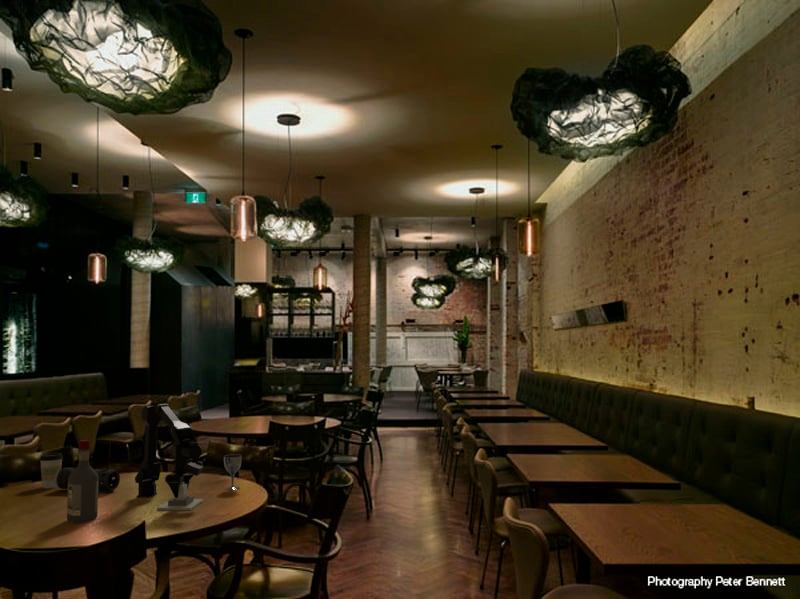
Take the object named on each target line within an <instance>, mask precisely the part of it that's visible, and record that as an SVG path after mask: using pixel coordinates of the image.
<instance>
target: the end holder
mask: <svg viewBox="0 0 800 599" xmlns="http://www.w3.org/2000/svg"><path fill="white" fill-rule="evenodd" d="M194 497H195V496H194V495H187V499H185V500H175V497H171V498H170V499H169V500H167V501H166V502H164V503H162V504H161V505H159V506H157V507H156V510H157V511H192V510H194V509H195V508H196V507H198V506H200V505H201V504H202V503H204V502H203V501H205V499H204V498H194ZM200 503H201V504H200ZM193 508H194V509H193Z"/></svg>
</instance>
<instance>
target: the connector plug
mask: <svg viewBox="0 0 800 599" xmlns="http://www.w3.org/2000/svg"><path fill="white" fill-rule="evenodd" d="M187 496H188V490H187V484H184V482H182V484H180V489H179V495H178V498H175V500H185V499H187Z"/></svg>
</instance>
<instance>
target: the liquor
mask: <svg viewBox="0 0 800 599" xmlns="http://www.w3.org/2000/svg"><path fill="white" fill-rule="evenodd" d="M90 442H91V441H90V439H81V440H79V441H78V464H77V466H76V467H75V470H74V471H73V472H72V473H71V474H70V475H69V478H68V489H67V501H66V502H67V504H66V519H67V522H70V523H72V524H83V523H87V522H92V521H94V520H96V519H97V517H98V513H99V512H98V510H99V508H98V507H99V492H98V479H99V476H98V474H97V472H96V471H95V470H94V468H93V467H92V465H90V447H91V446H90Z"/></svg>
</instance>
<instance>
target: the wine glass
mask: <svg viewBox="0 0 800 599" xmlns="http://www.w3.org/2000/svg"><path fill="white" fill-rule="evenodd" d="M242 458H243V456H242V454H237V453H236V454H235V453H233V454H232V453H231V454H226V455H224V456H223V463H224V468H225V470H226V471H227V473H229V475H230V478H231V485H230V486H228V487H225V488H224V490H225V491H229V492H230V491H238V490H240V489H241V486H235V485H234V479H235V475H236V473H237V472H238V471H239V470H240V468H241V466H242Z"/></svg>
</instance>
